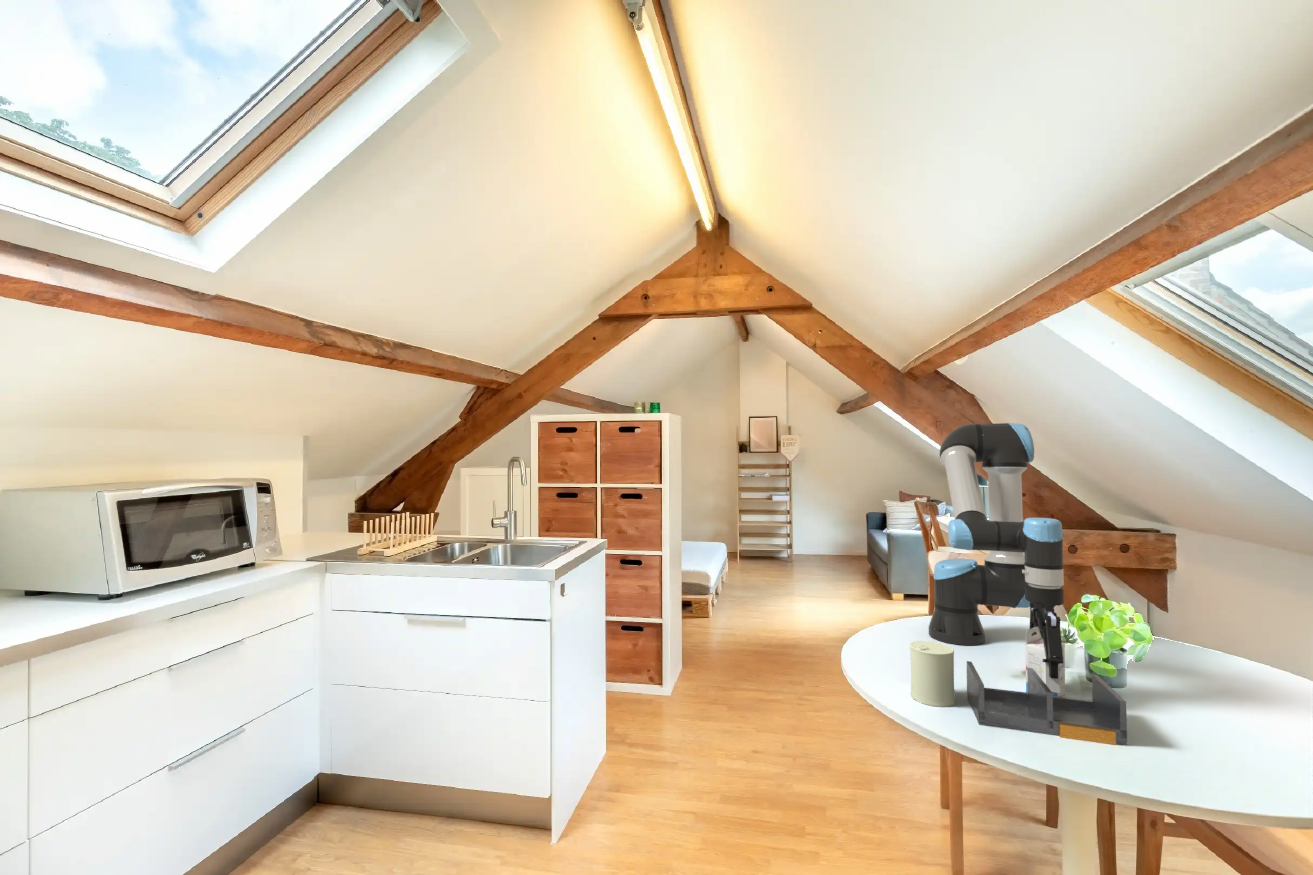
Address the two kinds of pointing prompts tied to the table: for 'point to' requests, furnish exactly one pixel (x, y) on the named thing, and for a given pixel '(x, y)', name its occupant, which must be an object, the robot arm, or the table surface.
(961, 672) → the table surface
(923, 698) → the can
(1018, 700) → the rack
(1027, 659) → the ink box
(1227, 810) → the table surface
